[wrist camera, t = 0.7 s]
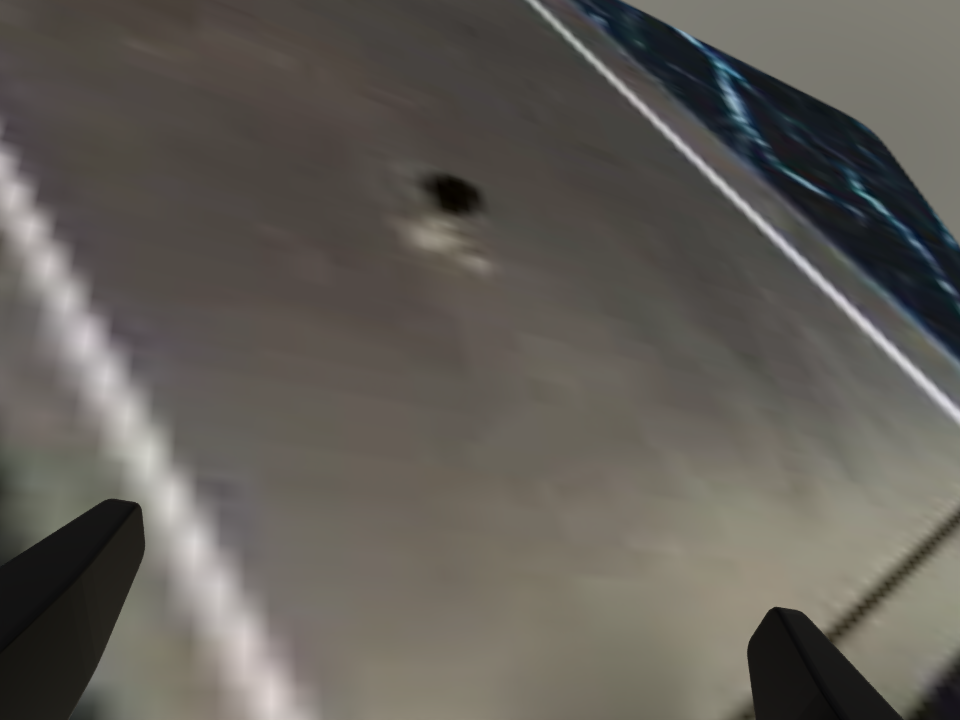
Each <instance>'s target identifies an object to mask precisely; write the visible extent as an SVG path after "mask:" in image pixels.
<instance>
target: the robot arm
mask: <svg viewBox="0 0 960 720" xmlns="http://www.w3.org/2000/svg"><path fill="white" fill-rule="evenodd" d="M144 550H145V537H144V527H143V516H142V509H141V507H140V505H139V504H138V503H136V502H131V501H125V500H119V499H107V500H105V501H103V502H101V503H99V504H98V505H96V506H95V507H93V508H92V509H90V510H88V511H87V512H85V513H84V514H82V515H81V516H79V517H77V518H76V519H74V520H73V521H71V522H70V523H68V524H67V525H65V526H63V527H62V528H60V529H59V530H57V531H56V532H54V533H52V534H51V535H49V536H48V537H46V538H45V539H43V540H42V541H40V542H38V543H37V544H35V545H34V546H32V547H31V548H29V549H27V550H26V551H24V552H23V553H21V554H20V555H18V556H17V557H15V558H13V559H12V560H10V561H9V562H7V563H6V564H4V565H2V566H1V567H0V720H69V718H70V716H71V714H72V712H73V711H74V709H75V707H76V705H77V703H78V701H79V700H80V698H81V696H82V694H83V692H84V691H85V689H86V687H87V685H88V683H89V681H90V679H91V677H92V675H93V674H94V672H95V670H96V668H97V666H98V663H99V661H100V659H101V657H102V654H103V652H104V650H105V648H106V645H107V643H108V640H109V638H110V636H111V633H112V631H113V628H114V626H115V624H116V621H117V619H118V617H119V614H120V612H121V609H122V607H123V605H124V602H125V600H126V597H127V595H128V593H129V590H130V588H131V585H132V583H133V581H134V578H135V576H136V573H137V571H138V569H139V566H140V564H141V561H142V558H143V555H144ZM747 657H748V666H749V673H750V681H751V688H752V696H753V704H754V711H755V719H756V720H903V719H902V717H901V716H900V715H899V714H898V713H897V712H896V711H895V710H894V709H893V708H892V707H891V706H890V705H889V704H888V702H887V701H886V700H885V699H884V698H883V697H882V696H881V695H880V694H879V693H878V692H877V691H876V690H875V689H874V687H873V686H872V685H871V684H870V683H869V682H868V681H867V680H866V679H865V678H864V677H863V676H862V675H861V674H860V672H859V671H858V670H857V669H856V668H855V667H854V666H853V665H852V664H851V663H850V662H849V661H848V660H847V659H846V657H845V656H844V655H843V654H842V653H841V652H840V651H839V650H838V649H837V648H836V647H835V646H834V645H833V644H832V642H831V641H830V640H829V639H828V638H827V637H826V636H825V635H824V634H823V633H822V632H821V631H820V630H819V629H818V627H817V626H816V625H815V624H814V623H813V622H812V621H811V620H810V619H809V618H808V617H807V616H806V615H805V614H804V613H802V612H800V611H798V610H793V609H787V608H781V607H774V608H772V609H770V610H769V611H768V612H767V614H766V615H765V617H764V618H763V620H762V622H761V623H760V625H759V626H758V628H757V629H756V631H755V632H754V634H753V635H752V637H751V639H750V641H749V644H748V649H747Z"/></svg>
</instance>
